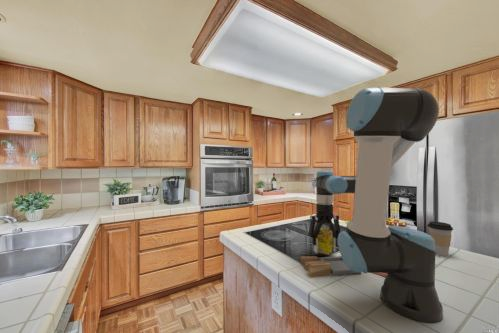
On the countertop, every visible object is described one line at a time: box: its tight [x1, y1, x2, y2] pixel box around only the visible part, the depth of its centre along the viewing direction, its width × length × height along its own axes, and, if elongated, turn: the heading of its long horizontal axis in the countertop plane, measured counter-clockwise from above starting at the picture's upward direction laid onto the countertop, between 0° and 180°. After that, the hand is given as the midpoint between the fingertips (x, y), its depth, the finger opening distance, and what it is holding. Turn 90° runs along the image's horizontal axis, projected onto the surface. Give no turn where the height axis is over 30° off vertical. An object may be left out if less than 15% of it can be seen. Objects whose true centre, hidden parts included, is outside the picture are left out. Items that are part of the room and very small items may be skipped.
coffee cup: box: [427, 221, 454, 257], centre depth 103 cm, size 9×9×15 cm
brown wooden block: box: [300, 255, 320, 273], centre depth 89 cm, size 8×7×3 cm
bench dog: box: [307, 261, 331, 278], centre depth 82 cm, size 3×8×4 cm, turn 99°
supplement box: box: [316, 227, 334, 257], centre depth 99 cm, size 6×6×11 cm
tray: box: [318, 255, 362, 277], centre depth 88 cm, size 12×12×2 cm
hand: (324, 251), depth 99 cm, fingers closed on supplement box, 8 cm apart
